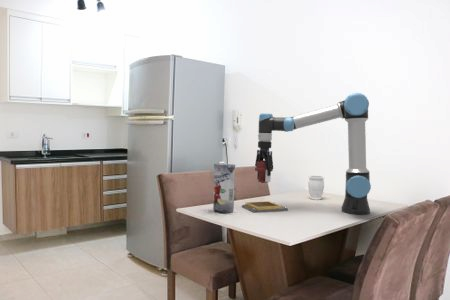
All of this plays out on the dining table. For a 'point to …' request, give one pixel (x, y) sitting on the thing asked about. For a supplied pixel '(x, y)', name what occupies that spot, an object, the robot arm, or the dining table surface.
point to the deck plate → (263, 207)
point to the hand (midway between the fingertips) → (263, 180)
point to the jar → (316, 187)
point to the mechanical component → (261, 171)
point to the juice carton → (224, 187)
